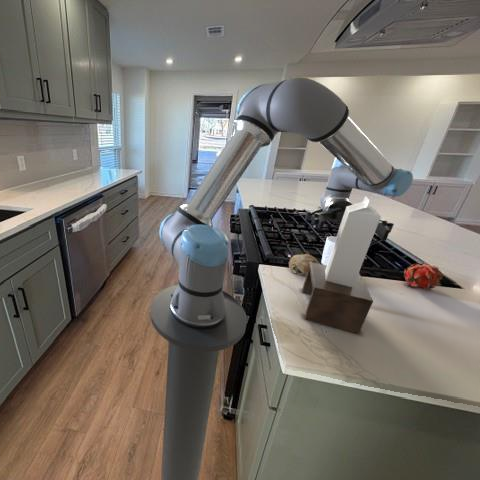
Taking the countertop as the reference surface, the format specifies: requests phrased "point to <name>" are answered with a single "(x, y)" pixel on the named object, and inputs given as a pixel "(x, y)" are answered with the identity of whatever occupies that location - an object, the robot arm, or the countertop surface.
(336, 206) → the robot arm
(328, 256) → the white cup
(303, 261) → the tan rounded lump
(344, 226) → the milk
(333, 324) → the dark wooden crate
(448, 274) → the countertop surface
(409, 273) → the dragon fruit
